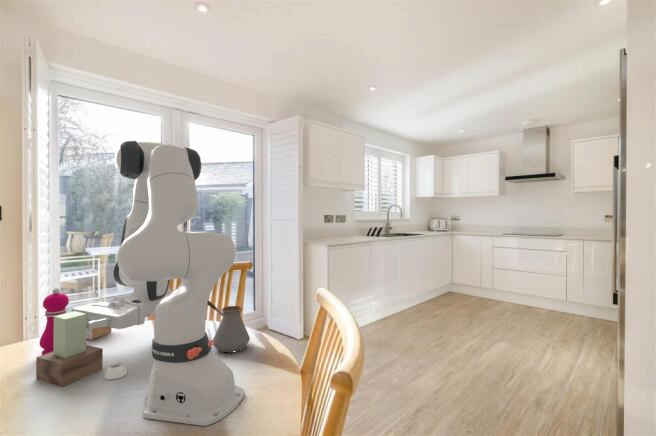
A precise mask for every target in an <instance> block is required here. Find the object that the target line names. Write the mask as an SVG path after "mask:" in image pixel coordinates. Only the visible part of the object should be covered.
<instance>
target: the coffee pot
mask: <svg viewBox="0 0 656 436" xmlns="http://www.w3.org/2000/svg"><path fill="white" fill-rule="evenodd" d="M207 306H209V307H210V308H212V309H213V310H214V311H216V312H217V313H218V314H219V315H220V316H222V319H221V321H220V323H219V326H218V328H217V330H216V332H215V334H214V336H213V339H215V340H214V341H213V342H212V343H215V344H213V345H212V346H214V348H215V349H217V350H218V351H219V350H220V351H221V352H220V351H219V352H220V353H222V352H233V351H238V350H240V349H242V348H243V349H244V348H245V347H247V346H248V344H249V342H250V340H251V338H250V335H249V333H248V330H247V328H246V325H245V323H244V321H243V318H242V316H241V312H242V310H243V307H242V306H240V305H229V306H228V305H227V306H225V307H223V308H221V309H219V308H217V306H215V305H214V304H213V303H212V302H211V301H210V300H208V303H207ZM243 349H242V350H243Z"/></svg>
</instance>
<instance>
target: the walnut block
mask: <svg viewBox="0 0 656 436" xmlns="http://www.w3.org/2000/svg"><path fill="white" fill-rule="evenodd" d="M103 352H104V348H101V347H97V346H94V345H89V344H86V351H84V352H81V353H79V354H76V355H73V356H70V357H67V358H62V357H59V356H56V355H54V354H53V352H50V353H47V354H44V355H42V354H41V355H39V356H36V358H35V359H36V365H35V366H36V367H35V371H36V372H35V373H36V374H35V379H36V380H37V381H41V382H44V383H46V384H51V385H53V386H56V387H60V388H64V387H67V386H69V385H71V384H73V383H75V382H78V381H79V380H82V379H84V378H86V377H89V376H91V375H93V374H95V373H99V372H100V371H102V370H103V364H104V363H103V360H104V359H103V354H104V353H103ZM77 380H78V381H77Z"/></svg>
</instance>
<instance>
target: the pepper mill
mask: <svg viewBox="0 0 656 436" xmlns="http://www.w3.org/2000/svg"><path fill="white" fill-rule="evenodd" d="M42 301H43V302H42V307H43V308H44V309H45V310H44V313H45V314H44V316H45V317H46V324H45V329H44V330H43V332H42V334H41V336H40V339H39V347H40V348H42V351H41V355H44V354H47V353H50V352H53V345H54V316H57V315H61V314H66V313H68V312H67V310H68V308H67V306H68V305H69V303H70V302H69V301H70V298H69V296H68V295H67V294H65V293H61V289H60V288H57V287H55V288H54V289H52V293H50V294H49V295H47V296H46V297H45V298H44V299H43V300H42Z"/></svg>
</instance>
